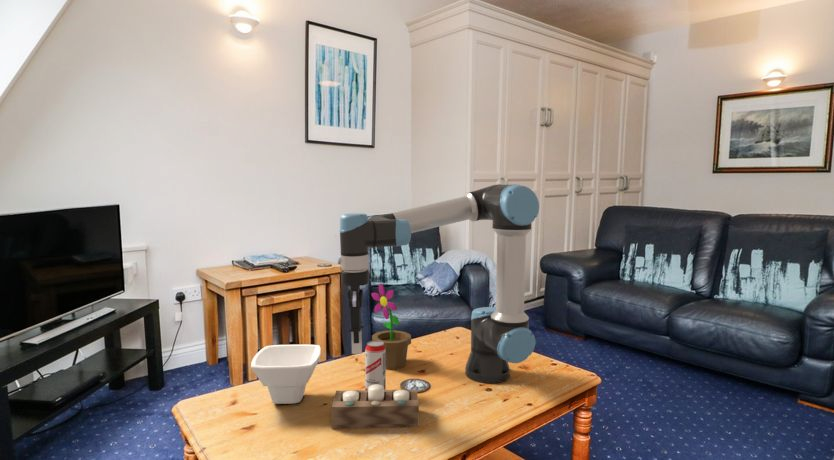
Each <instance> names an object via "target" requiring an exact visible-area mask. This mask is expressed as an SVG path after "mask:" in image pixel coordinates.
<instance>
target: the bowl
mask: <svg viewBox="0 0 834 460" xmlns="http://www.w3.org/2000/svg"><path fill="white" fill-rule="evenodd" d="M321 356H322V349H321V346H320V345H319V344H307V343H306V344H275V345H273V344H272V345H266V346H264V347H263V348H261V349H259V351H258V352H257V353H256V354H254V357H252V360H251V362H250V364H251V366H250V368H251V370H252V372H253V373H254V374H255V376H256V377H257V378H258V380H259V381H260V383H261V384H262V386H263V387H267V389H268V392H269V396H270V399H271V402H272V403H273V404H277V405H281V404H284V405H286V404H288V405H289V404H297V403H300V402H301V401H302V399H303V398H304V394H305V390H306V387H307V383H308V382H309V381H310V379H311V378H312V375H313V373H314V371H315V369H316V367H317V365H318V363H319V361H320V359H321Z"/></svg>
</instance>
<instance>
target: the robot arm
mask: <svg viewBox="0 0 834 460" xmlns="http://www.w3.org/2000/svg"><path fill="white" fill-rule="evenodd" d="M539 211H540V202H539V199H538V196H537V194H536V193H535V192H534V191H533V190H532V188H529V187H528V186H525V185H521V184H516V183H514V184H499V183H498V184H492V185H490V186H486V187H482V188H479V189H477V190H473V191H469V192H466V193H465V194H464V195H463V196H461V197H456V198H453V199H447V200H443V201H439V202H435V203H429V204H426V205H421V206H416V207H412V208H408V209H402V210H399V211H395V212H390V213H387V214H386V213H385V214H382V215H377V214H375V215H371V216H369V217H368V215H367V214H366V213H361V212H360V213H359V212H358V213H355V212H353V213H344V214H342V215H340V217H339V241H340V244H339V245H340V258H338V262H340V268H341V270H342V271H341V273H340V278H341V279H340V282H341V283H340V284H341V285H343V286H345V287H350V289H348V292H347V298H348V307H349V313H350V315H349V316H350V318H349V319H350V328H348V333H350V335H351V355H362V353H363V340H362V338H363V337H362V330H363V329H364V328H365V326H364V325H362V306H363V295H364V290H363V289H361V286H362V287H363V286H366V285H368V284H369V283H370V272H369V270H368V269H369V268H370V267H369V265H370V264H369V263H370V262H369V261H370V260H369V256H370V255H369V248H382V247H383V248H384V247H388V248H389V247H402V246H408V245H409V244H410V242H411V238H412V234H415V233H418V232H422V231H426V230H430V229H434V228H438V227H442V226H446V225H452V224H455V223H460V222H464V221H467V220H469V221H470V222H477V221H492V226H491V227H492V230H493V231H494V232H495V233H496V242H497V244H496V285H495V286H496V287H495V288H496V290H495V291H496V292H495V294H496V295H495V306H483V307H477V308H475V309H473V310H472V311H471V318H470V332H471V333H470V353H469V356H468V358H467V361H466V363H465V368H464V369H465V371H464V372H465V376H466V377H467V378H469V379H471V380H473V381H475V382H478V383H485V384H498V383H503V382H505V381H506V382H507V380H509V379H510V377H511V368H510V365H509V363H511V364H519V363H522V362H524V361H526V360H527V359H528V357H530V356H531V355H532V353H533V352H534V350H535V346H536V337H535V335H534V334H533V332H532V330H531V329H529V328H530V327H529V325H530V316H528V315H527V314H526V312H525V290H526V287H525V285H526V281H525V280H526V250H527V249H526V244H527V241H526V240H527V235H528V234H529V233H530V231H532V223H533V222H535V219H536V218H537V217H538V215H539Z"/></svg>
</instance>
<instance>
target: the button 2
mask: <svg viewBox="0 0 834 460" xmlns="http://www.w3.org/2000/svg"><path fill="white" fill-rule="evenodd" d="M396 390H397V391H395V392H394V400H409V392H408V391H406V390H407V389H396Z"/></svg>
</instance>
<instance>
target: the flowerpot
mask: <svg viewBox="0 0 834 460" xmlns="http://www.w3.org/2000/svg"><path fill="white" fill-rule="evenodd" d="M378 291H379V292H378V293H379V294H378V293H377V292H371V297H372V299H373V300H374V301H376V302H378V301H379V303H377V304H376V305H375V306H374V312H375V313H378V312H380V311H382V314H383V316H384V318H385V320H389V321H390V322H387V321H386V322H384V323H383V322H382V325H383V326H384V327H386V328H387V329H389V330H382V331H377V332H376V333H373V334H372V335H371V341H375V340H376V341H382V342H383V343H384V346H385V349H386V371H387V370H389V371H390V370H392V371H393V370H399V369H402V368H403V367H405V366H406V362H407V357H408V350H409V349H408V348H409V346H410V345H411V344H412V335H411V334H410V333H408V332H406V331H401V330H397V329H396V330H395V329H394V325H395V326H399V325H400V321H399V318H398V316H397V315H393V312H392V311H397V310H398V306H397V305H396V303H394V302H392V301H389V300H390V299H392V298H393V297H394V294H395V291H394V289H391V290H390V289H389V290H388V291H386V290H385V286H384V285H383V283H379V284H378Z"/></svg>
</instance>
